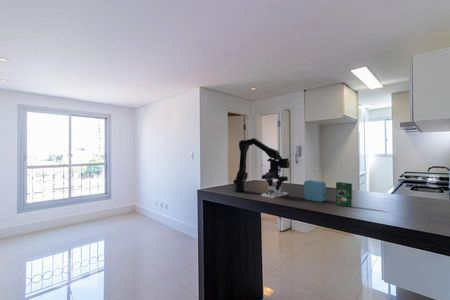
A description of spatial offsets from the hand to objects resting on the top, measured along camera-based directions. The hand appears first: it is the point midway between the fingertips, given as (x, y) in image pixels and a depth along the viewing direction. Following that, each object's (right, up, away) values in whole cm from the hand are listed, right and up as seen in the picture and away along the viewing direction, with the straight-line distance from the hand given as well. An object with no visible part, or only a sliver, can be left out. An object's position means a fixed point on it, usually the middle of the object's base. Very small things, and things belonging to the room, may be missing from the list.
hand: (274, 190), depth 158 cm
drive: (0, -1, 0) cm, 1 cm away
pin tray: (0, -4, 0) cm, 4 cm away
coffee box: (+32, -3, -32) cm, 45 cm away
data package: (+22, -4, -17) cm, 28 cm away
